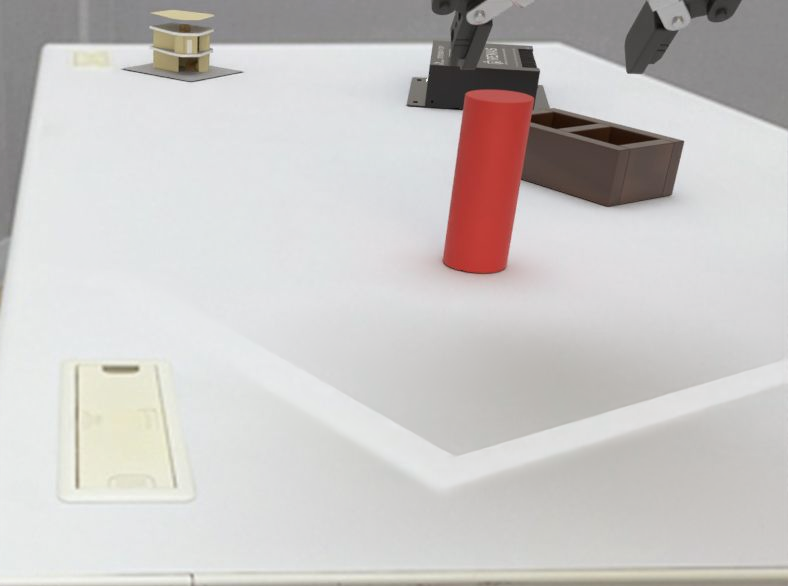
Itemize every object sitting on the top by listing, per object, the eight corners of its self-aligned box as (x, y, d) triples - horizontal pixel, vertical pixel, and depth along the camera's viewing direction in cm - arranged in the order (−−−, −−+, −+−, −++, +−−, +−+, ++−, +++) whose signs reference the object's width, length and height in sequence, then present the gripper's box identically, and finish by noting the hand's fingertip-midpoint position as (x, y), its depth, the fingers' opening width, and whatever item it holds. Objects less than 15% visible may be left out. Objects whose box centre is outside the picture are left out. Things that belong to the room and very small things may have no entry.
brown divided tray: (545, 157, 101) (553, 107, 99) (672, 195, 92) (685, 140, 90) (482, 167, 98) (489, 115, 96) (607, 206, 89) (619, 150, 86)
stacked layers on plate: (120, 68, 131) (120, 13, 128) (174, 59, 137) (175, 6, 134) (190, 81, 126) (192, 24, 123) (243, 71, 132) (246, 16, 129)
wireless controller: (551, 115, 116) (587, -88, 107) (406, 105, 118) (429, -95, 109) (540, 79, 133) (570, -99, 124) (413, 71, 135) (433, -105, 126)
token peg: (475, 250, 79) (500, 87, 73) (519, 267, 76) (548, 99, 70) (429, 259, 77) (451, 92, 71) (473, 277, 74) (499, 104, 69)
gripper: (854, -292, 47) (680, -3, 63) (489, -305, 46) (408, -11, 62) (875, -128, 45) (691, 126, 61) (497, -140, 45) (411, 119, 61)
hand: (548, 57), depth 62 cm, fingers open, 8 cm apart
